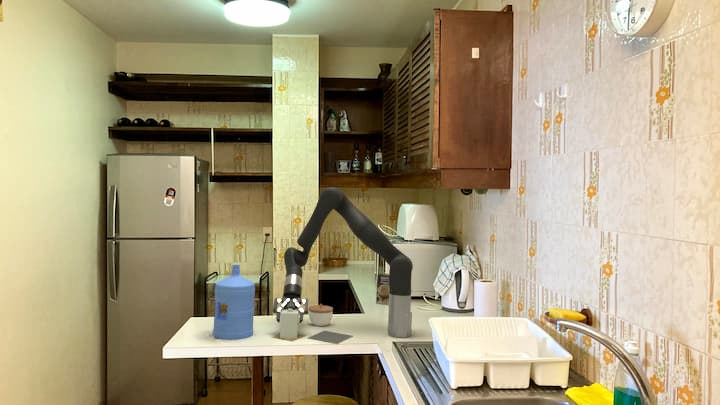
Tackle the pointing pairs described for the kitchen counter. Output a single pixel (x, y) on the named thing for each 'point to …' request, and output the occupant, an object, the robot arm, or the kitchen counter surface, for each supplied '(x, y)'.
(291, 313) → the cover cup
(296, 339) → the coaster
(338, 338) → the mat
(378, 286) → the coffee box
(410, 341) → the kitchen counter surface
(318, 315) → the lidded jar
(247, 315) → the water jug
